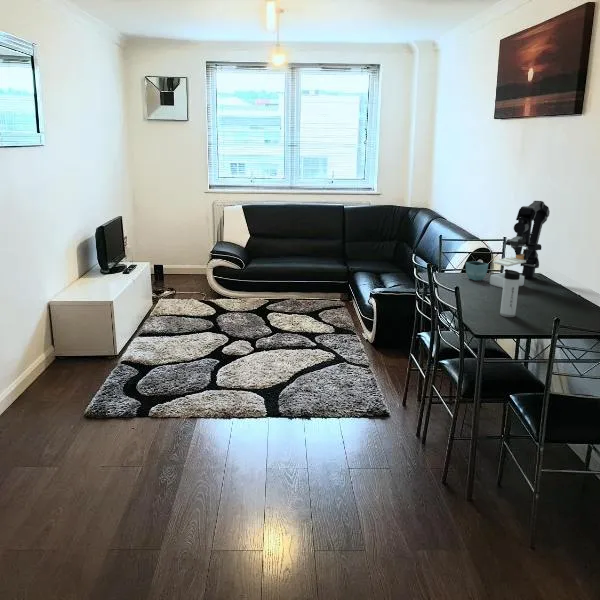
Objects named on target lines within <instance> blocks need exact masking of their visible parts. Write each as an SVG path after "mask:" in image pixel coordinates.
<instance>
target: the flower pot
mask: <svg viewBox="0 0 600 600" xmlns="http://www.w3.org/2000/svg"><path fill="white" fill-rule="evenodd" d="M488 268H489V264H488V263H486V262H481V261H478V260H477V261H467V262H465V273H466V276H467V278H468V279H469V280H472V281H482V280H483V279H484V278H485V277H486V275H487V272H488Z"/></svg>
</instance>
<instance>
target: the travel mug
mask: <svg viewBox="0 0 600 600" xmlns="http://www.w3.org/2000/svg"><path fill="white" fill-rule="evenodd" d="M503 272H504V273H505V276H504V284H503V288H502V293H501V294H502V295H501V300H500V301H501V302H500V310H499V311H500V312H499V316H502V317H504V318H515V317H516V311H517V303H518V295H519V294H518V293H519V287H520V286H519V278H520V275H521V273H520V272H519V271H516V270H513V269H504V271H503Z"/></svg>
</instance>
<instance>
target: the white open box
mask: <svg viewBox="0 0 600 600" xmlns="http://www.w3.org/2000/svg"><path fill="white" fill-rule="evenodd" d="M504 276H505V272H501V273H494V274H490V276H489V277H490V278H489V285H491V286H494V287H498V288H502V289H503V284H504ZM524 282H525V278H524V276H522V274H520V278H519V287H522V286H524Z"/></svg>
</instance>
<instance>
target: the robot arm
mask: <svg viewBox="0 0 600 600" xmlns="http://www.w3.org/2000/svg"><path fill="white" fill-rule="evenodd" d="M548 217H550V208H549V206H548V205H546V204H545V201H543V200H533V202H532V203H531V204H529V205H527V206H526V205H523V206H521V207H520V208H519V210H518V212H517V216H516V218H515V220H516V221H518V222H516V223H515V224H514V226H513V231H514V232H515V234H516V236H513V237H512V238H507V240H506V241H505V246H509V247H511V249H513V250H514V253H515V256H516V255H518V254H524V260H526V262H525V263H521V264H520V267H522V272H521V275H522V276H524V279H528V280H532V279H537V276H536V275H535V273H536V269H539V268H540V260H539V255H538V251H541V250H542V244H540V243H539V240H540V236H541V232H542V228H543V225H544V224H545V223H546V222H547V220H548ZM523 248H524V249H523ZM522 250H523V251H522Z"/></svg>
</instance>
